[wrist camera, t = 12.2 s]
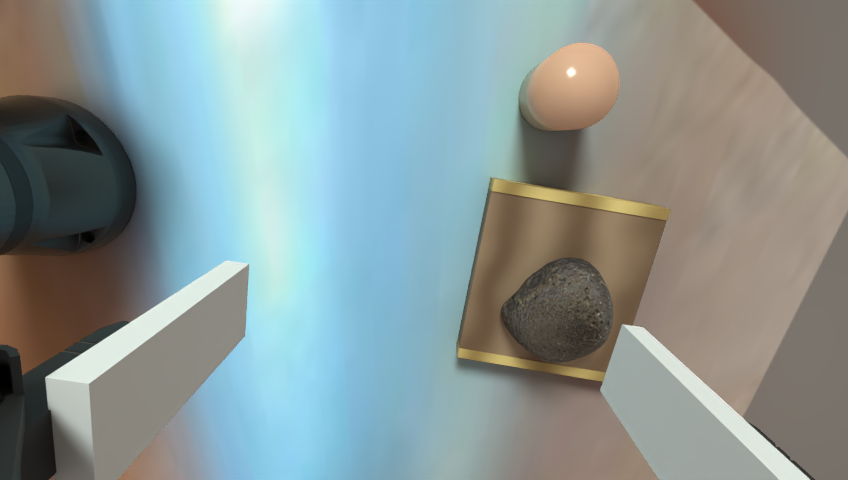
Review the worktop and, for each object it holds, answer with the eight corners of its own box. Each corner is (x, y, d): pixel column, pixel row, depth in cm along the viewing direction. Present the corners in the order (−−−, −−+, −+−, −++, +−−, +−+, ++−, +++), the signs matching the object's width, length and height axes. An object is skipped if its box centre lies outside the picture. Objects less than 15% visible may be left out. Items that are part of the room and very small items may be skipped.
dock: (456, 344, 43) (457, 357, 40) (490, 177, 38) (494, 180, 35) (603, 369, 43) (614, 383, 40) (655, 204, 38) (670, 209, 35)
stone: (541, 336, 43) (640, 358, 36) (493, 363, 38) (598, 394, 30) (535, 247, 42) (636, 250, 35) (485, 260, 37) (592, 267, 29)
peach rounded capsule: (512, 125, 37) (528, 122, 30) (526, 55, 35) (547, 36, 28) (576, 135, 37) (606, 135, 30) (593, 67, 35) (629, 50, 28)
